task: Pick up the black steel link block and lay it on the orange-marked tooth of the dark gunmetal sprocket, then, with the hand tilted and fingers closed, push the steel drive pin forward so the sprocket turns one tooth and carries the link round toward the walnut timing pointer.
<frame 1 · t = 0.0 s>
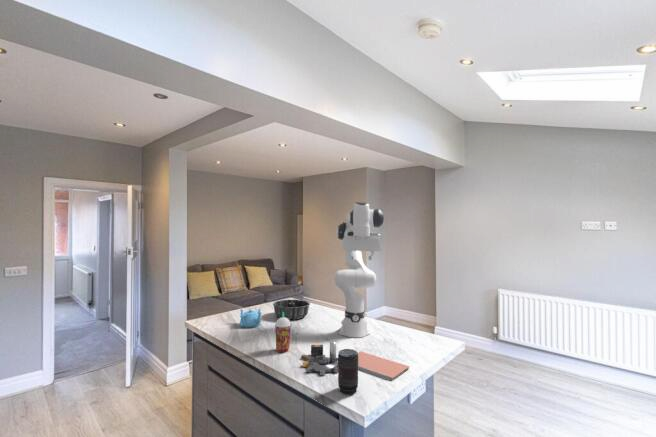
hand: (361, 259, 168), 48 cm above the counter, tool pointing down, fingers open, 8 cm apart
link: (316, 355, 163), on the counter
camera lens: (347, 391, 129), on the counter
smoothie: (282, 351, 169), on the counter
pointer: (305, 359, 159), on the counter
sprocket: (323, 354, 151), point 5 cm above the counter, hinge at 0.0°
notebook: (374, 367, 152), on the counter
bundt pan: (291, 317, 234), on the counter
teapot: (251, 325, 213), on the counter
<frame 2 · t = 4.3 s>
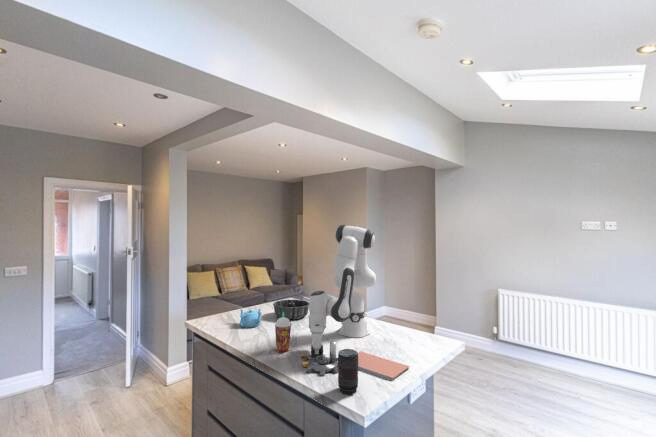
hand: (317, 351, 163), 2 cm above the counter, tool pointing down, fingers closed on link, 3 cm apart
link: (316, 355, 163), on the counter, touching gripper
everything else where it was.
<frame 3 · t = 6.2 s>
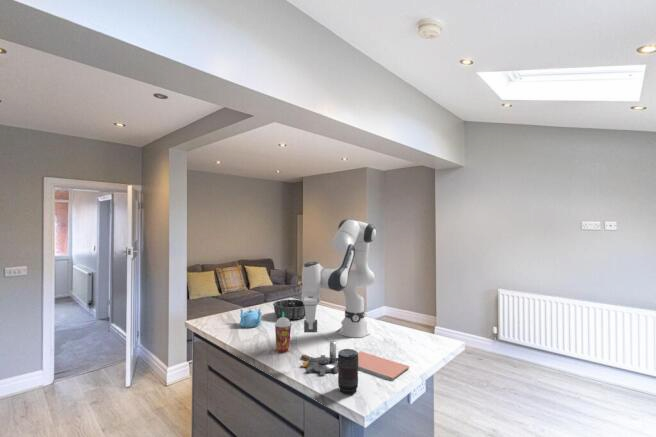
hand: (310, 327, 151), 18 cm above the counter, tool pointing down, fingers closed on link, 3 cm apart
link: (310, 331, 150), point 16 cm above the counter, touching gripper
everything else where it was.
when the fingers open (5 cm above the counter, at t = 8.5 s): link drops 1 cm, resting on sprocket.
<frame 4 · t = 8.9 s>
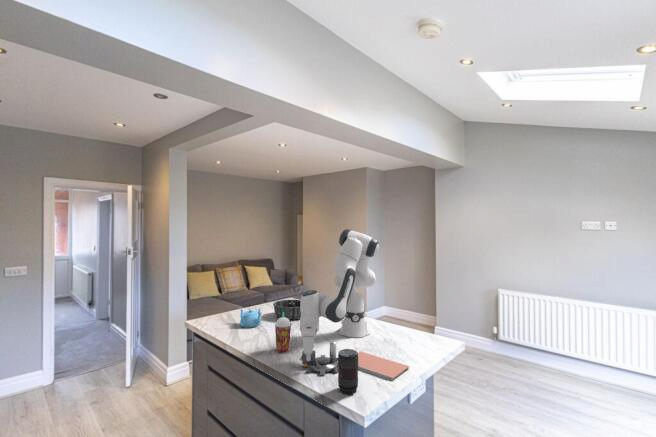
hand: (308, 356, 151), 5 cm above the counter, tool pointing down, fingers open, 7 cm apart
link: (308, 362, 150), point 2 cm above the counter, touching sprocket
sprocket: (323, 354, 151), point 5 cm above the counter, hinge at 0.0°, touching link
everything else where it was.
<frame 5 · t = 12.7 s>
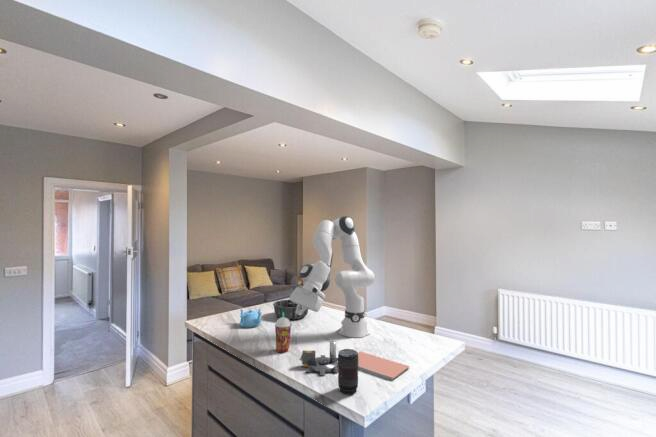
hand: (297, 314, 162), 21 cm above the counter, tool tilted 35°, fingers closed
nothing on the counter moved.
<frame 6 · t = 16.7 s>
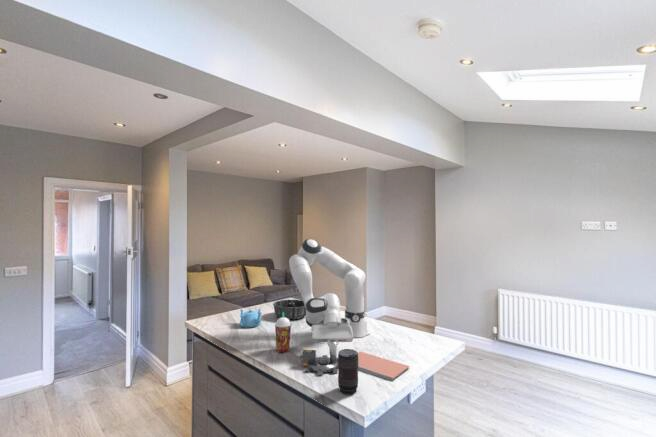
hand: (332, 350, 154), 6 cm above the counter, tool tilted 45°, fingers closed, pressing on sprocket
sprocket: (323, 354, 151), point 5 cm above the counter, hinge at 6.7°, touching gripper, link
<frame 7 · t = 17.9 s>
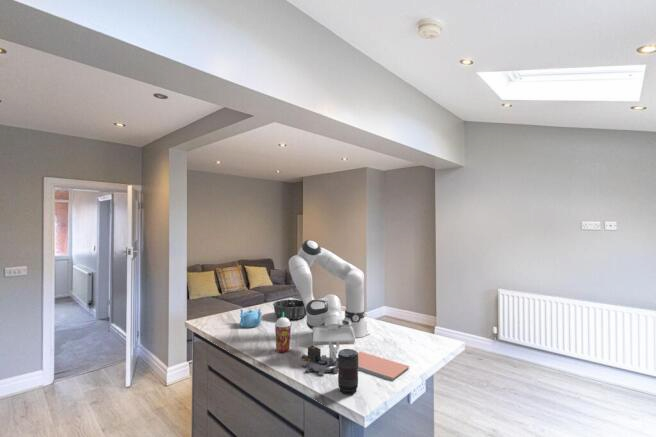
hand: (334, 353, 150), 6 cm above the counter, tool tilted 45°, fingers closed
link: (313, 358, 155), point 2 cm above the counter, touching sprocket
sprocket: (323, 354, 151), point 5 cm above the counter, hinge at 48.6°, touching gripper, link
everything else where it was.
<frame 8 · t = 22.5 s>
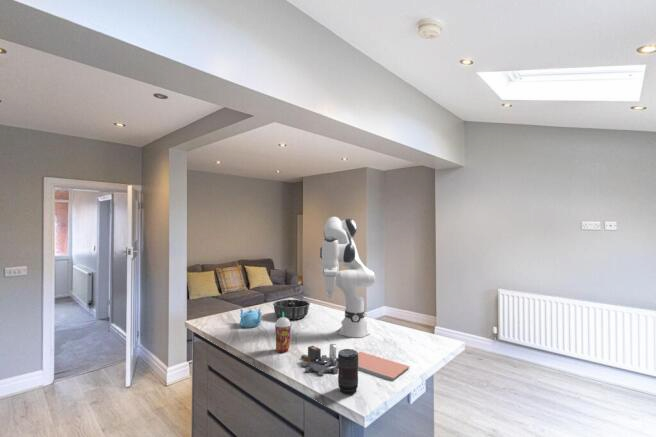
hand: (329, 297, 164), 29 cm above the counter, tool pointing down, fingers closed
sprocket: (323, 354, 151), point 5 cm above the counter, hinge at 49.4°, touching link
everything else where it was.
at the end: sprocket at +49° (first picture: +0°); link inside the target area (0.4 cm from its centre), point 1.7 cm above the counter; link touching sprocket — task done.
